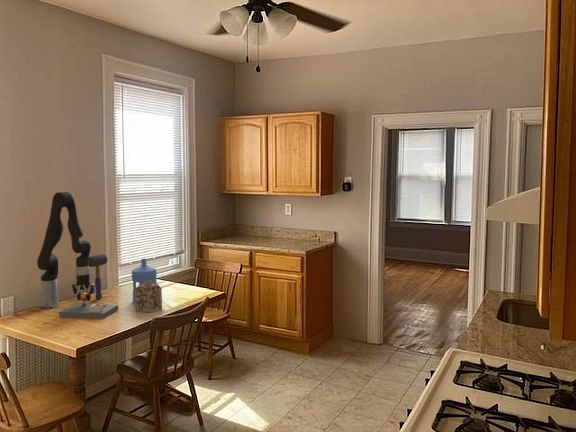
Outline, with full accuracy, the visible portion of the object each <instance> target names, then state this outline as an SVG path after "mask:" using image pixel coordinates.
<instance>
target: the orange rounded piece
mask: <svg viewBox="0 0 576 432" xmlns="http://www.w3.org/2000/svg"><path fill="white" fill-rule="evenodd" d="M80 294H81V300H80V301H81V304H82V306H86V304H87V293H86V292H85V291H84V292H81V293H80Z"/></svg>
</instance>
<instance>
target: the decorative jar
mask: <svg viewBox="0 0 576 432" xmlns="http://www.w3.org/2000/svg"><path fill="white" fill-rule="evenodd" d="M162 295H163V293H162V287H161V286H160V285H159V284H158V283H152V281H145V282H144V283H143V284H140V285H139V284H138V285H137V286H136V289H135V303H134V305H135V311H136V312H138V313H139V312H140V313H146V314H151V313H153V312H157V311H160V310H162V309H163V296H162Z"/></svg>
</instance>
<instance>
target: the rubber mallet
mask: <svg viewBox="0 0 576 432" xmlns="http://www.w3.org/2000/svg"><path fill="white" fill-rule="evenodd" d="M88 263H89V268H93V267H94V268H95V279H94V280H95V281H94V284H95V286H94V288H95V299H96V300H101V299H102V297H103V296H102V281H101V274H100V273H101V271H100V266H103V265H106V264H107V263H108V256H107V255H106V254H104V253H103V254H95V255H91V256H90V255H89V258H88Z"/></svg>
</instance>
